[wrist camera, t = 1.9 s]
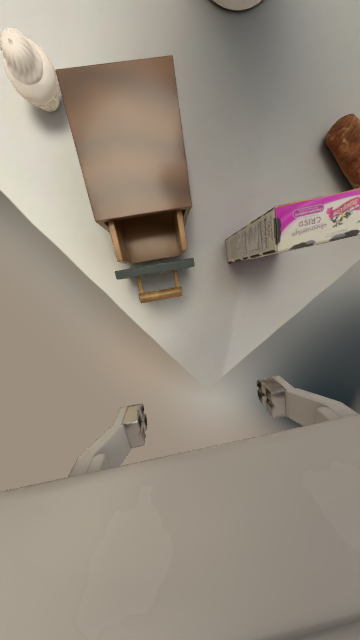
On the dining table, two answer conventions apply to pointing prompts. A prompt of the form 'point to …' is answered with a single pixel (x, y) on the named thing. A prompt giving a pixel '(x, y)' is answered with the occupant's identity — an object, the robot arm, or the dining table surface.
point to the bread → (346, 147)
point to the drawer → (151, 249)
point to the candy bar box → (297, 226)
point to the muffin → (30, 70)
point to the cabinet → (128, 137)
